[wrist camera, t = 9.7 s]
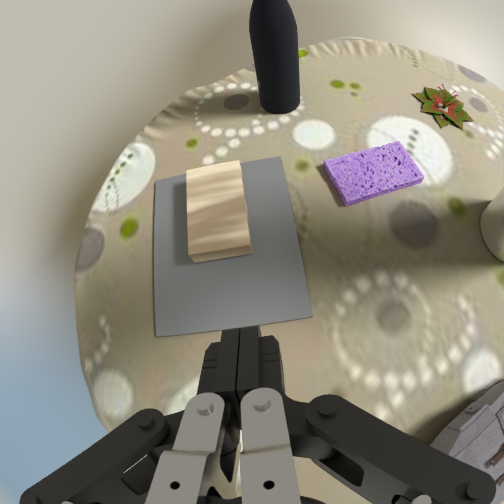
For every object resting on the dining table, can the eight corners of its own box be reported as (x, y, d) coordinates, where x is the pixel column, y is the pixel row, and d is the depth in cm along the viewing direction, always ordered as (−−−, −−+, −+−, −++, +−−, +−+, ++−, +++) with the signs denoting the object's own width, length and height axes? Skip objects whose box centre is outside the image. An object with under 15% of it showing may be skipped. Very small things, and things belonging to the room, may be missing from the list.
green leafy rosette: (482, 128, 42) (491, 111, 38) (439, 138, 42) (447, 119, 38) (444, 85, 47) (450, 68, 42) (399, 91, 47) (404, 72, 42)
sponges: (420, 184, 39) (425, 177, 37) (344, 209, 39) (346, 201, 37) (396, 148, 42) (399, 139, 40) (322, 168, 42) (323, 159, 40)
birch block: (250, 244, 35) (239, 159, 39) (188, 254, 35) (186, 170, 40) (253, 254, 37) (242, 172, 42) (195, 263, 38) (192, 182, 43)
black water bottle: (308, 99, 47) (300, -75, 19) (282, 119, 46) (261, -70, 18) (278, 85, 49) (257, -77, 22) (252, 103, 48) (218, -69, 20)
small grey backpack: (438, 525, 21) (545, 429, 22) (465, 550, 14) (582, 431, 15) (400, 444, 27) (516, 347, 28) (428, 460, 20) (555, 336, 21)
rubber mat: (312, 317, 34) (312, 316, 34) (157, 337, 35) (155, 336, 35) (280, 158, 43) (280, 156, 42) (156, 182, 44) (155, 180, 44)
